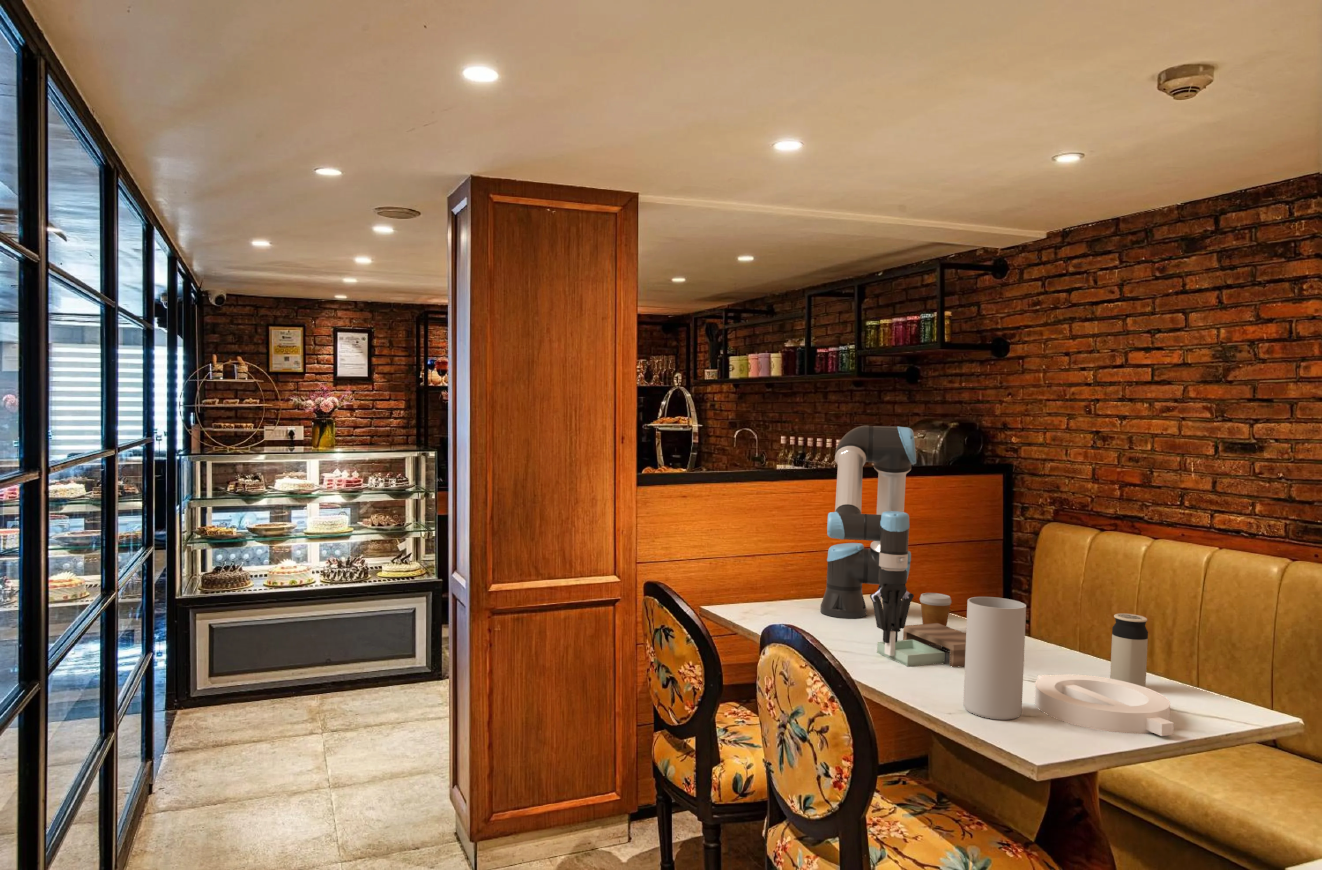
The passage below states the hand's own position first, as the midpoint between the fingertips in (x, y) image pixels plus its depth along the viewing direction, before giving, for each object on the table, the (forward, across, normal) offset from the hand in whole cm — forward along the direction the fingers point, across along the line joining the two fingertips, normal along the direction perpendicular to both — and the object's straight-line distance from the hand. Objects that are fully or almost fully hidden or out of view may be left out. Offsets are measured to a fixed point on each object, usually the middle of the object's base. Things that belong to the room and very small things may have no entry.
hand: (889, 654), depth 248 cm
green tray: (+1, +7, 0) cm, 7 cm away
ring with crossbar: (+2, +23, -50) cm, 55 cm away
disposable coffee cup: (+2, +30, +20) cm, 36 cm away
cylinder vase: (+2, -2, -43) cm, 43 cm away
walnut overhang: (+1, +18, 0) cm, 18 cm away
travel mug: (+2, +45, -38) cm, 58 cm away
